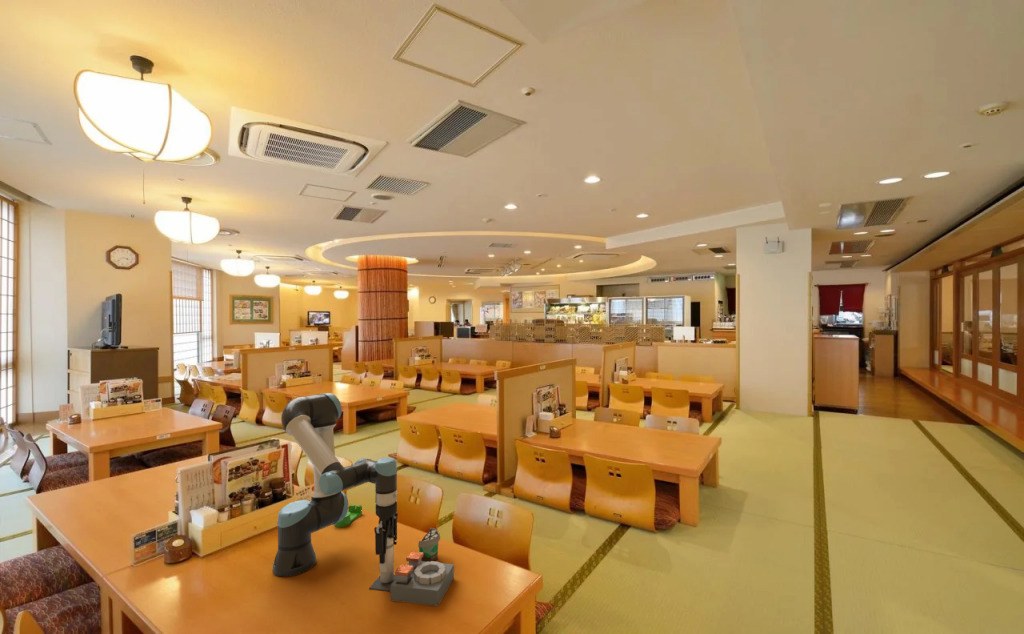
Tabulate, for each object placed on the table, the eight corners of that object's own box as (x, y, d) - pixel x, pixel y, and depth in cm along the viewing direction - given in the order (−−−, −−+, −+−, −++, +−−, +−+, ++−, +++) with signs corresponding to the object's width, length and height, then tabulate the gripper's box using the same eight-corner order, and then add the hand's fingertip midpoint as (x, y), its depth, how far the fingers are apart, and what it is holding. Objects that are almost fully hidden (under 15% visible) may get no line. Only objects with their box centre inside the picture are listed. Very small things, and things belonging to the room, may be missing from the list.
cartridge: (377, 582, 155) (377, 542, 156) (384, 574, 160) (383, 536, 160) (389, 583, 155) (389, 543, 155) (396, 576, 159) (395, 537, 159)
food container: (433, 569, 165) (433, 543, 166) (418, 568, 167) (418, 541, 167) (444, 552, 178) (444, 528, 178) (430, 551, 179) (430, 527, 179)
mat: (369, 589, 154) (369, 587, 154) (381, 574, 163) (381, 573, 163) (392, 591, 152) (392, 590, 152) (404, 577, 161) (404, 575, 161)
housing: (390, 600, 147) (390, 579, 147) (410, 573, 163) (410, 554, 163) (438, 606, 144) (437, 584, 144) (453, 578, 160) (453, 559, 160)
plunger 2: (406, 576, 157) (406, 557, 157) (412, 569, 162) (411, 551, 162) (418, 577, 156) (418, 558, 156) (423, 570, 161) (423, 552, 161)
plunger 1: (395, 591, 148) (395, 571, 148) (401, 583, 153) (401, 564, 153) (407, 593, 147) (407, 573, 147) (413, 585, 152) (413, 565, 152)
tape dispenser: (344, 528, 201) (344, 518, 201) (330, 527, 202) (330, 517, 202) (362, 514, 215) (362, 505, 215) (349, 513, 217) (349, 504, 217)
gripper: (384, 513, 149) (384, 582, 148) (406, 493, 166) (406, 555, 165) (364, 511, 150) (364, 580, 150) (388, 492, 167) (388, 553, 167)
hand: (386, 567), depth 157 cm, fingers closed on cartridge, 4 cm apart
